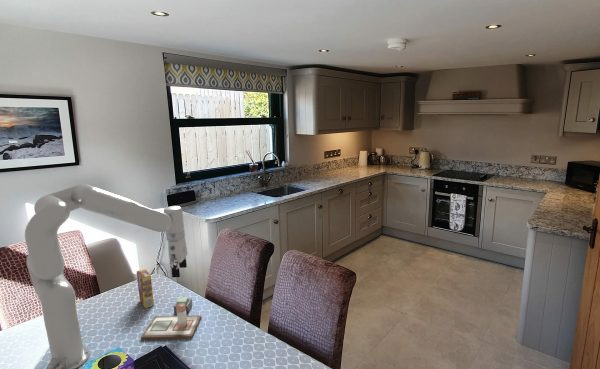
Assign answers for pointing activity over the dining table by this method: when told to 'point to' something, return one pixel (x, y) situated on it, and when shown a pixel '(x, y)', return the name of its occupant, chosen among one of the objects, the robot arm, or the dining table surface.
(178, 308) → the cylinder
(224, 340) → the dining table surface
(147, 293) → the candy box
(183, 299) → the button
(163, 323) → the picture board
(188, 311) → the button housing
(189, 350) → the dining table surface
